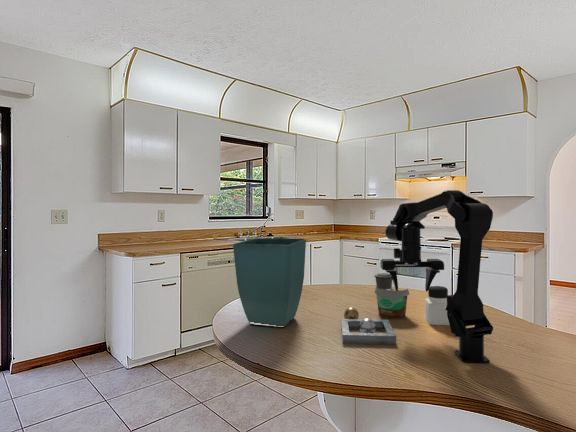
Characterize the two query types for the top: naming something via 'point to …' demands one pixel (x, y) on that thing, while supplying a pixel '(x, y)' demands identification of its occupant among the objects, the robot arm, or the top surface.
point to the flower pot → (270, 278)
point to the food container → (391, 302)
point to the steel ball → (367, 326)
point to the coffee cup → (383, 281)
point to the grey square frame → (367, 338)
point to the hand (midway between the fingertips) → (411, 291)
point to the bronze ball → (351, 313)
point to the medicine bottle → (436, 306)
